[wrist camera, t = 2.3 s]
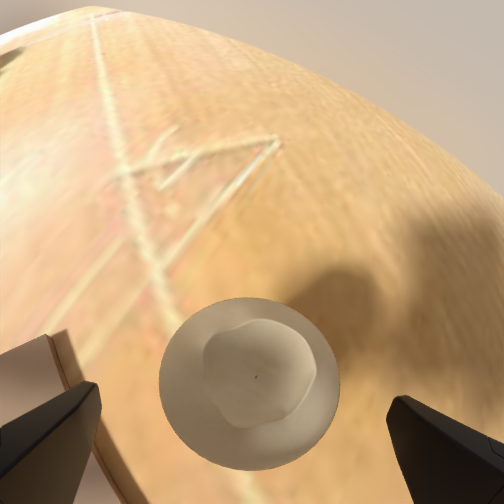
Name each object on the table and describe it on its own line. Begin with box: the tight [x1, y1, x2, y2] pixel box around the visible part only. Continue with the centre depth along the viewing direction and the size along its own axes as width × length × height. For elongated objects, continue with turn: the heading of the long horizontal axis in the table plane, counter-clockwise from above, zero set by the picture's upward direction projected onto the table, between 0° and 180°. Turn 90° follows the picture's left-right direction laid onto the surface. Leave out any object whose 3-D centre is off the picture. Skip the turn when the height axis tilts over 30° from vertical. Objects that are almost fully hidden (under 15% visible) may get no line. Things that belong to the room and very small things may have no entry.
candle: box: [159, 297, 340, 471], centre depth 12 cm, size 6×6×10 cm
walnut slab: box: [0, 334, 128, 504], centre depth 11 cm, size 14×14×1 cm
